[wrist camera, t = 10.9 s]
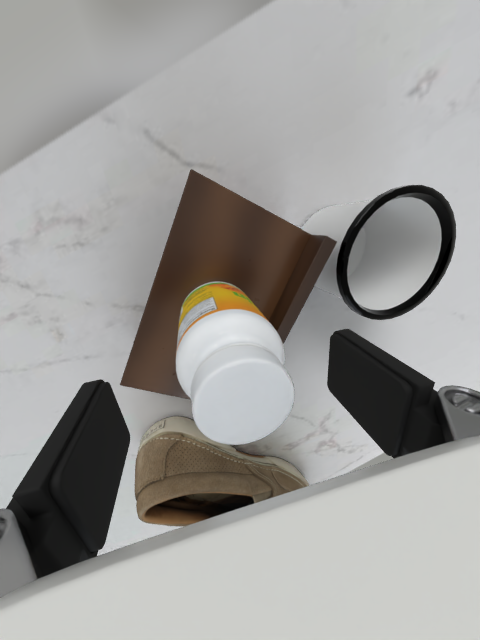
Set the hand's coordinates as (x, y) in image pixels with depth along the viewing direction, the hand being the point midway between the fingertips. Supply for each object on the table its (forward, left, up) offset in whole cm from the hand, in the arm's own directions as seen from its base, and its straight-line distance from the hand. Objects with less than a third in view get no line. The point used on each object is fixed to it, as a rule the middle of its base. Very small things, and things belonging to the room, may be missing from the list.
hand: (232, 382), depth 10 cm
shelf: (0, 0, -15) cm, 15 cm away
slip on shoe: (+13, -23, -16) cm, 31 cm away
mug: (+11, +10, -16) cm, 22 cm away
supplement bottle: (0, 0, -9) cm, 9 cm away
